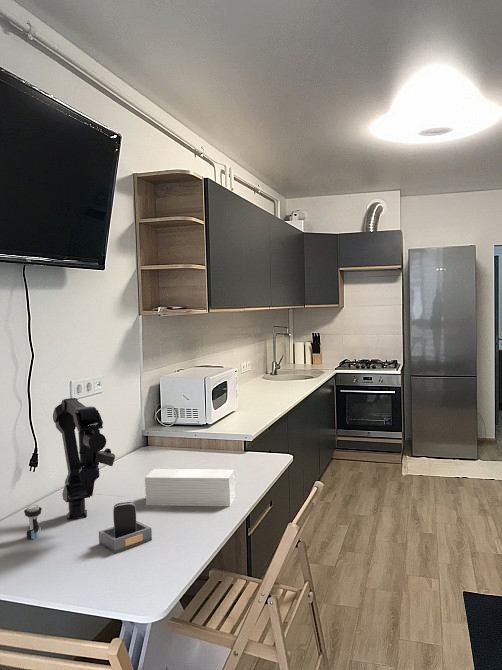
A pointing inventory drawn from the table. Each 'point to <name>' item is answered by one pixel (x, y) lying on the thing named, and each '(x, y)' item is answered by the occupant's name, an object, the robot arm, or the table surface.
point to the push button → (33, 521)
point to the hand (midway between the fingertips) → (90, 491)
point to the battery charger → (124, 519)
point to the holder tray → (125, 538)
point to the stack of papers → (190, 487)
